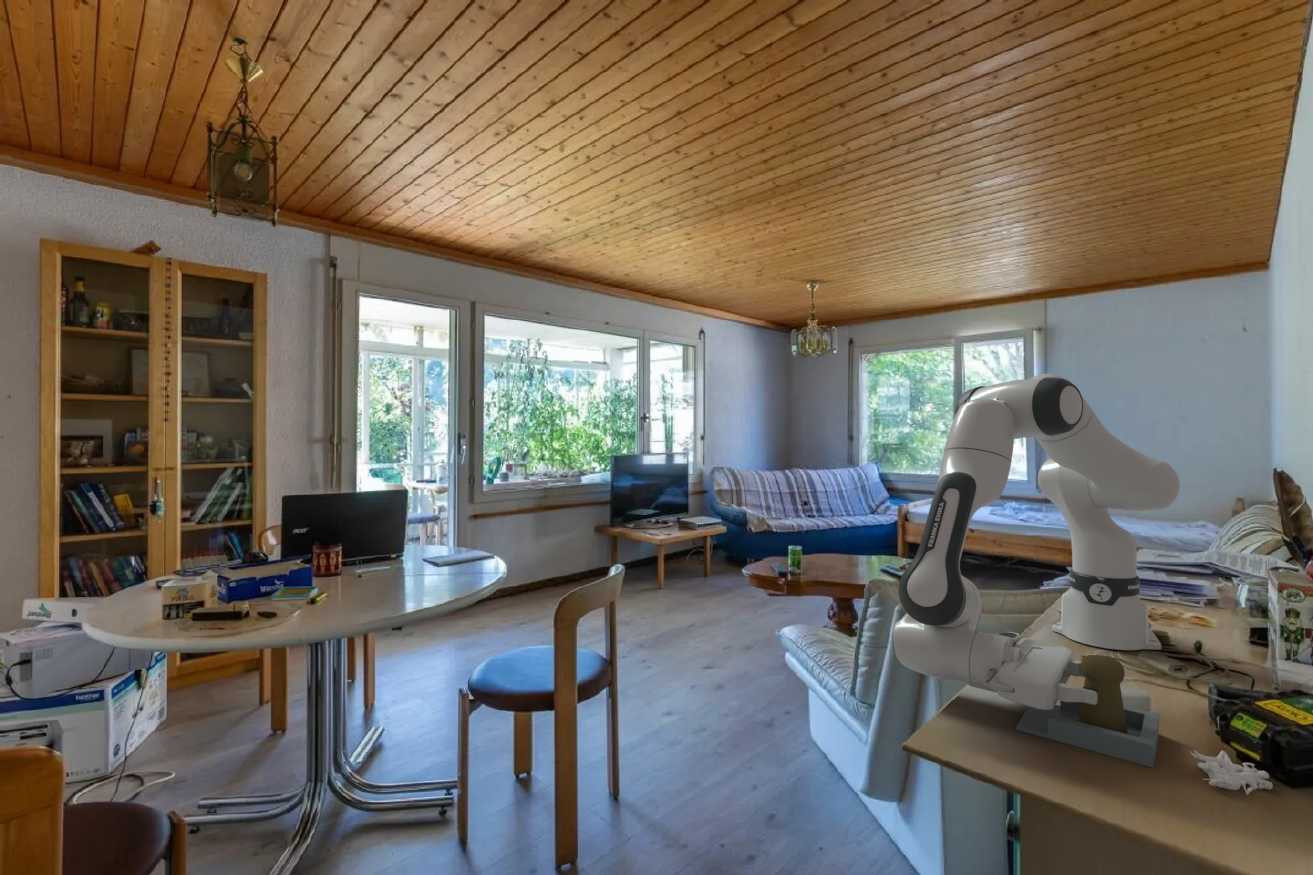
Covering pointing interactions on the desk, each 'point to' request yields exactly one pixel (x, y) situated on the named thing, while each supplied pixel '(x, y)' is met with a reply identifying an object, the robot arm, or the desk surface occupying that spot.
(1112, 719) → the cork
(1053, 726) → the tray
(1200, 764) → the figurine
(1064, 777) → the desk surface
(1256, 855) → the desk surface
